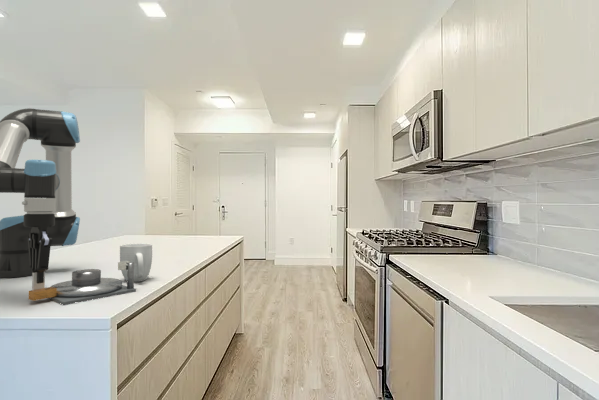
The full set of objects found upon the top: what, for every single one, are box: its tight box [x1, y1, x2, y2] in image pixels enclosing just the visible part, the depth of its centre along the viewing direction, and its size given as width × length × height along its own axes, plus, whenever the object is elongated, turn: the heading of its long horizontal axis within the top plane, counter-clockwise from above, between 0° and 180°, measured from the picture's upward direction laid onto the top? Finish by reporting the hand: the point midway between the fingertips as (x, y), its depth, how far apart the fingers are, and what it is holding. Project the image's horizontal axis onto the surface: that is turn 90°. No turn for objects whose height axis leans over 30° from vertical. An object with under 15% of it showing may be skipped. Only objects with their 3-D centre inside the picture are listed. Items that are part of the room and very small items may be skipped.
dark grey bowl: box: [71, 268, 102, 287], centre depth 120 cm, size 8×8×4 cm
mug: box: [119, 242, 153, 283], centre depth 136 cm, size 15×11×13 cm
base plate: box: [48, 284, 137, 306], centre depth 119 cm, size 21×21×1 cm
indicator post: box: [117, 261, 135, 289], centre depth 122 cm, size 5×5×9 cm
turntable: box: [27, 277, 123, 302], centre depth 117 cm, size 20×26×2 cm
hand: (38, 293), depth 109 cm, fingers closed
